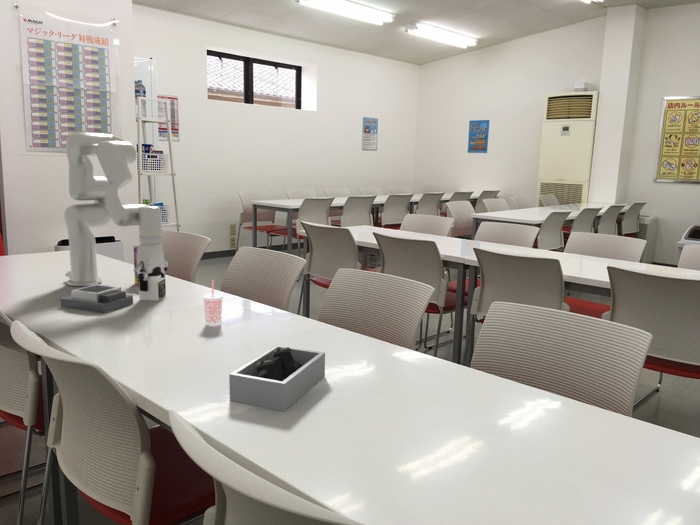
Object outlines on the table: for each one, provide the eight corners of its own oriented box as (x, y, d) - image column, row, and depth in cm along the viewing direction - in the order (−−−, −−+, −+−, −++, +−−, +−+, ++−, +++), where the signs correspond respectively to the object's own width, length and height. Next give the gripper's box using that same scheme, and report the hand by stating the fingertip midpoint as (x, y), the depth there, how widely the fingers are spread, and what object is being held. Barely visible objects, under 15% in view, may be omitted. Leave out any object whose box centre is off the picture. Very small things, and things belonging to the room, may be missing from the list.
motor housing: (60, 306, 190) (59, 290, 189) (92, 298, 203) (92, 282, 202) (102, 313, 184) (101, 295, 183) (133, 303, 197) (132, 287, 196)
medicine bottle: (159, 301, 201) (157, 268, 199) (139, 300, 202) (137, 267, 200) (166, 296, 208) (165, 264, 206) (147, 295, 209) (145, 263, 207)
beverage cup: (199, 323, 175) (198, 279, 173) (216, 320, 180) (215, 277, 177) (210, 328, 171) (209, 283, 169) (227, 324, 176) (226, 280, 173)
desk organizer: (229, 400, 120) (229, 374, 119) (276, 368, 140) (276, 345, 139) (284, 411, 116) (284, 383, 115) (324, 376, 135) (325, 352, 134)
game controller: (292, 385, 136) (274, 348, 136) (316, 376, 134) (298, 338, 134) (262, 413, 121) (242, 371, 121) (288, 404, 118) (268, 361, 118)
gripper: (158, 237, 211) (160, 282, 214) (124, 243, 195) (127, 292, 198) (175, 238, 208) (176, 284, 211) (142, 244, 192) (144, 294, 195)
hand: (152, 288), depth 204 cm, fingers closed on medicine bottle, 8 cm apart
